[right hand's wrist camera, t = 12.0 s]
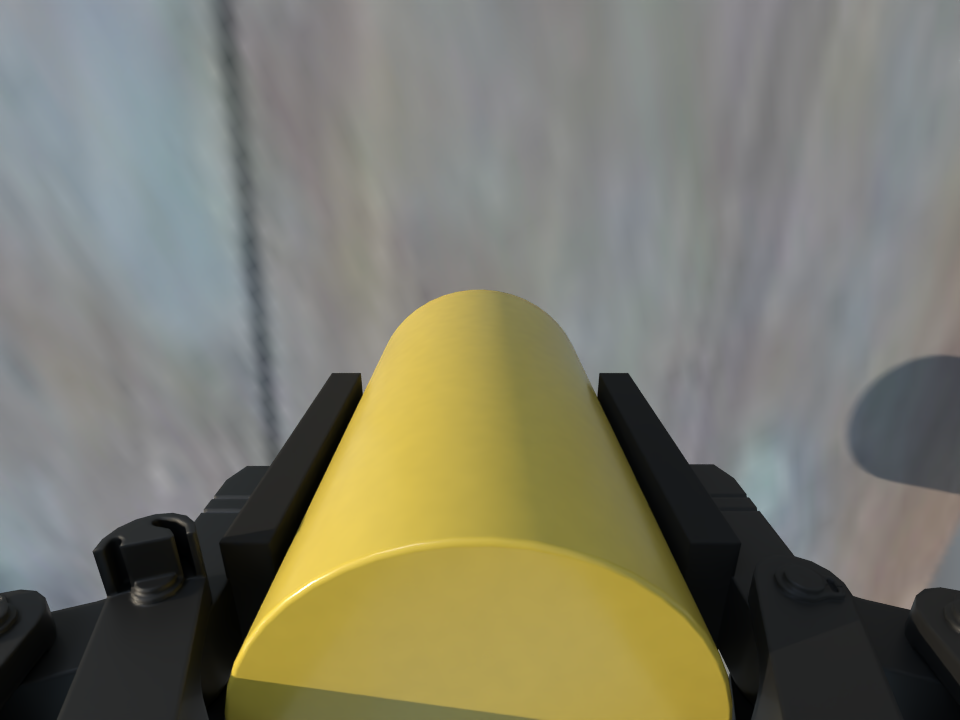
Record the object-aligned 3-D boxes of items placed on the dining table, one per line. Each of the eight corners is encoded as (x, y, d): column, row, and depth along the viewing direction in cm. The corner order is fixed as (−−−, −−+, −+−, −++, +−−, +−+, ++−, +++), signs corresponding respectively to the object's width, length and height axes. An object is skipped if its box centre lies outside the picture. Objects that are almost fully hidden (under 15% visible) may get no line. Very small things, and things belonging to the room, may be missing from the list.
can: (358, 445, 17) (194, 845, 7) (407, 261, 15) (266, 473, 5) (540, 493, 18) (615, 920, 8) (611, 324, 16) (837, 620, 6)
